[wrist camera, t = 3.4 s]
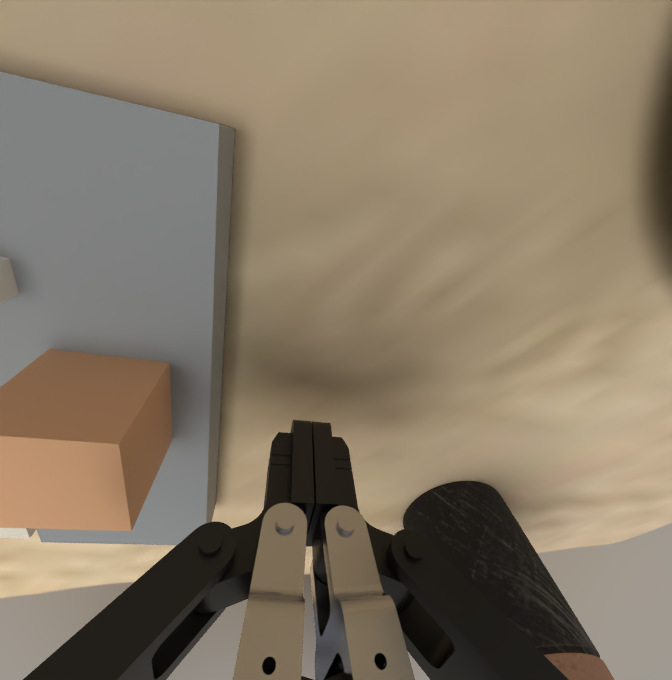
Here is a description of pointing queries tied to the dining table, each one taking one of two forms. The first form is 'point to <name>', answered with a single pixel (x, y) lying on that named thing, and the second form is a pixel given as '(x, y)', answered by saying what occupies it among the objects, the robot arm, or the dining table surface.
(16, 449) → the block
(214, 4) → the dining table surface
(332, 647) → the robot arm
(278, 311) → the dining table surface
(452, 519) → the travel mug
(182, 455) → the tunnel deck
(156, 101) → the dining table surface
